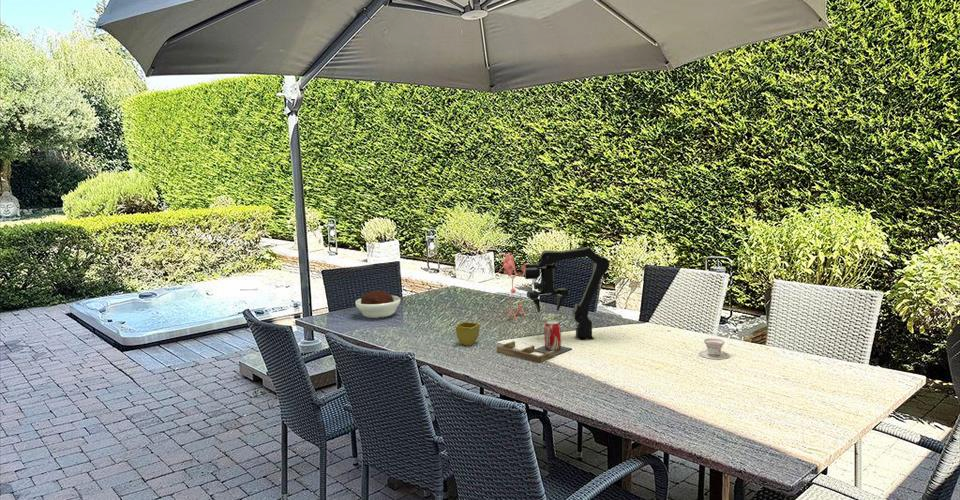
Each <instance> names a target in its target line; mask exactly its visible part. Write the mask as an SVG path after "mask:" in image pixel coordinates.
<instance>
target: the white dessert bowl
mask: <svg viewBox="0 0 960 500" xmlns="http://www.w3.org/2000/svg"><path fill="white" fill-rule="evenodd" d="M400 303H401V298H400V297H399V296H397V295H392V294H390V293H389V292H388V293H387V291H386V290H371V291H369V292H365V293H364V294H363V295H362V296H361V298H358V299H356V300H355V306H356V308H357V309H358V310H359V311H360V313H361V314H362V316H363V317H365V318H371V319H380V318H379V317H382V318H386V317H389V316H392V315H393V314H395V312H396V310H397V308H398V307H399V305H400Z"/></svg>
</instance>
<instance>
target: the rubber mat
mask: <svg viewBox="0 0 960 500" xmlns="http://www.w3.org/2000/svg"><path fill="white" fill-rule="evenodd" d="M569 351H573V348H572V347H567V346H562V345H561V348H559V349H558V350H555V357H557V356H560V355H562V354H564V353H567V352H569ZM547 352H550V350H547V349H546V348H545V345H542V346H540V347H537V348H535V352H534V353H540V354H541V355H542V354H545V353H547Z"/></svg>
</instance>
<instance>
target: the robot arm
mask: <svg viewBox="0 0 960 500" xmlns="http://www.w3.org/2000/svg"><path fill="white" fill-rule="evenodd" d="M539 257H540V258H539V259H538V261H537V262H536V263H534V264H530V263H527V264H525V263H524V264H525V273H524V280H536V279H538V278H539V277H540V282H539V281H534V282H533V289H534V290H528V291H527V292H526V297H527V298H528V299H529V300H531V301H533V303H534V305H535V308H536V310H537V312H538V313H540V311H541V306H540V304H541V303H540V298H539V297H543V296H556V311H557V312H558V311H559V310H560V308H561V305H562V303H563V301H564V300H565V299H566V298H567V296H568V297H569V296H570V291H569V289H568V288H565V287H559V288H556V289H555V283H556V281H555V279H554V278H555V276H554V274H555V271H554V270H556V269H557V270H558V268H559V267H558V266H557V265H556V264H555V263H558V262H560V261H564V260H570V259H579V258H586V257H587V258H588V259H589V260H591V261H592V262H593V267H592V274H591V276H590V278H589V281H588V284H587V285H586V289H585V291H584V293H583V295H582V298H581V300H580V302H579V303H575V304H574V307H573V309H572V310H571V311H572V317H573V319H574V321H575V322H576V323H577V324H576V327H575V338H577V339H579V340H580V341H581V340H582V341H585V340H592V339H594V337H593V326H592V325H593V322H592V320H591V319H590V318H589V310H590V304H591V303H592V300H593V297H594V295H595V293H596V291H597V288H598V285H599V284H600V281H601V278H602V277H603V276H604V275H605V274H606V272H607V271H608V269H609V268H610V261H609V260H608V259H607V258H606V257H605V256H603V255H598V254H597V253H596V252H594V251H593V250H592V248H590V247H587V246H586V247H583V248H574V249H568V250H561V251H560V250H559V251H557V250H544V251H542V252H541V253H540V255H539Z"/></svg>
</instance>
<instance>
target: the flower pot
mask: <svg viewBox="0 0 960 500" xmlns="http://www.w3.org/2000/svg"><path fill="white" fill-rule="evenodd" d="M480 326H481V323H479V322H468V321H463V322H460V323H459V324H457V325H455V326H454V327H455V333H456V337H457V340H458V342H459V343H460V345H462V344H463V346H464V345H465V346H472V345H474V344H475V343H476V341H478V338H479V335H480V328H481V327H480Z"/></svg>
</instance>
